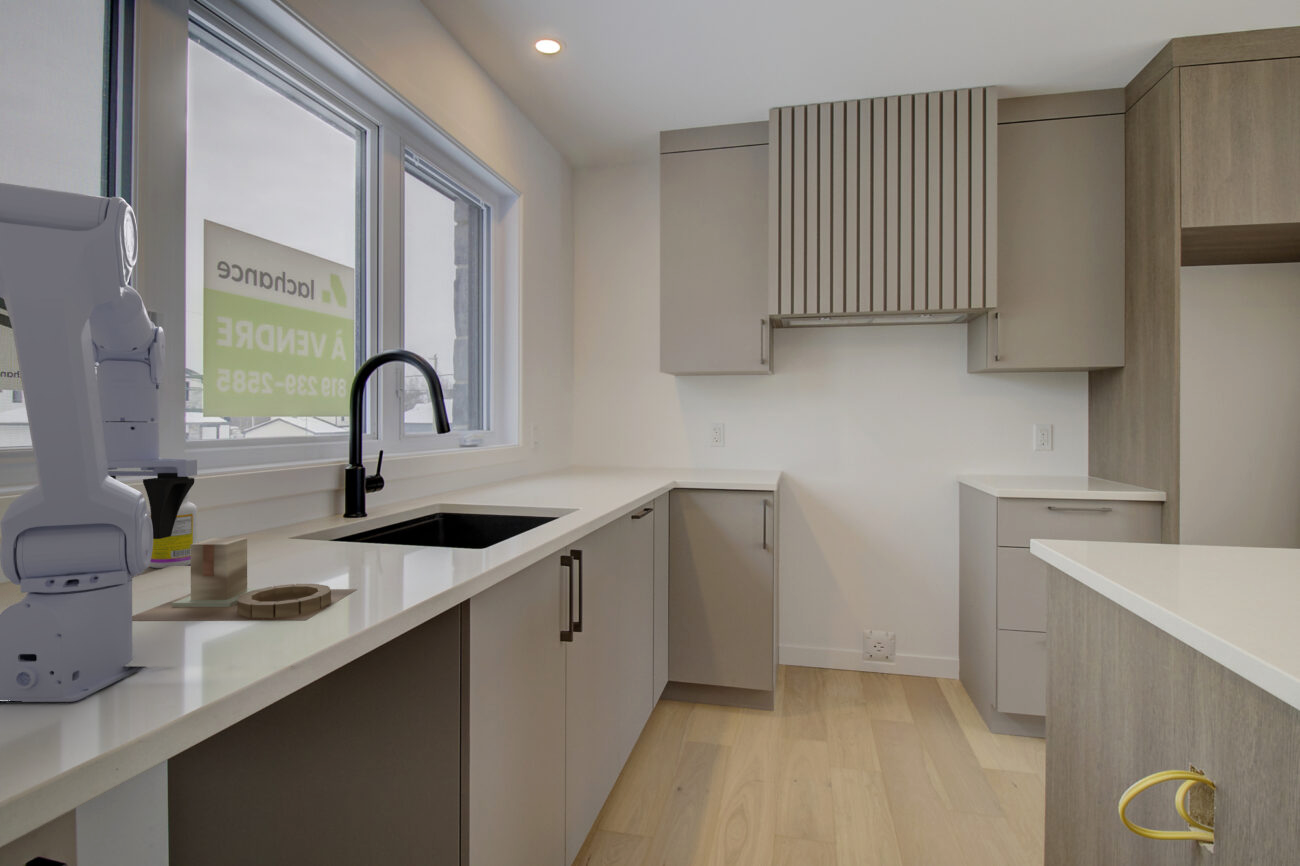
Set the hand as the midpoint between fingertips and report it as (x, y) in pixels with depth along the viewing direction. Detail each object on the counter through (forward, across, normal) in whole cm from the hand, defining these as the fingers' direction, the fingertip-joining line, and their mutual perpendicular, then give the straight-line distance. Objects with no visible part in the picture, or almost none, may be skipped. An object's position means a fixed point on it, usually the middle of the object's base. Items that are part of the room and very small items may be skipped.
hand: (129, 537), depth 75 cm
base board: (+10, -11, -5) cm, 16 cm away
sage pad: (+9, -6, -7) cm, 13 cm away
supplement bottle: (+11, +18, -33) cm, 39 cm away
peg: (+9, -6, -7) cm, 13 cm away
